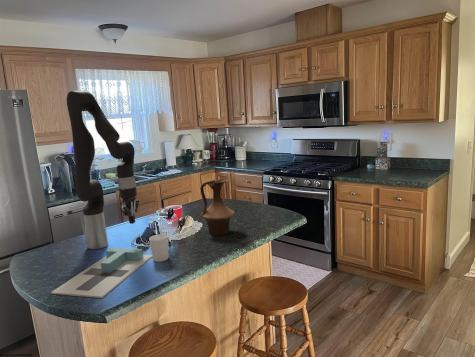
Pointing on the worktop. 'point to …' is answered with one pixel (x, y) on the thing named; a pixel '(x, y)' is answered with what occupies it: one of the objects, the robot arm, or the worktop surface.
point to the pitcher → (216, 209)
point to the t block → (120, 258)
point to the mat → (99, 279)
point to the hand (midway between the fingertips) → (132, 223)
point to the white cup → (159, 247)
